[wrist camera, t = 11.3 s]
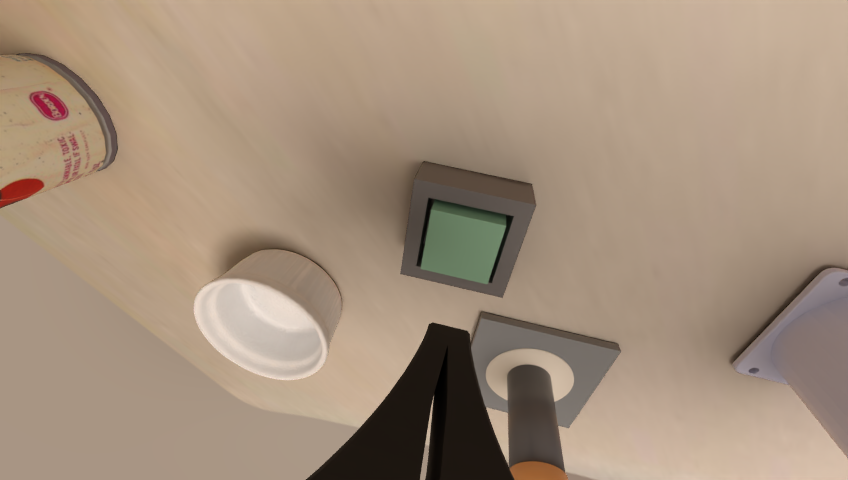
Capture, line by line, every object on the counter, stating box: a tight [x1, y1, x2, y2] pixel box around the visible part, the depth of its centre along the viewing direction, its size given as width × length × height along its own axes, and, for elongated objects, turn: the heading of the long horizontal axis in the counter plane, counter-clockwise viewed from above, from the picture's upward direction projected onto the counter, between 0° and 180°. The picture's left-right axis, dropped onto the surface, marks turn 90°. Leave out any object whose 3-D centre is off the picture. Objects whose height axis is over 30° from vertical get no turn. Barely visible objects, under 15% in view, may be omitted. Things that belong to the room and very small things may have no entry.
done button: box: [421, 199, 506, 284], centre depth 19 cm, size 4×4×2 cm
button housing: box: [400, 161, 536, 298], centre depth 19 cm, size 6×6×2 cm
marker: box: [507, 364, 568, 480], centre depth 22 cm, size 3×3×8 cm
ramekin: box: [194, 249, 342, 380], centre depth 24 cm, size 9×9×4 cm
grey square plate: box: [471, 312, 621, 428], centre depth 26 cm, size 9×9×1 cm
